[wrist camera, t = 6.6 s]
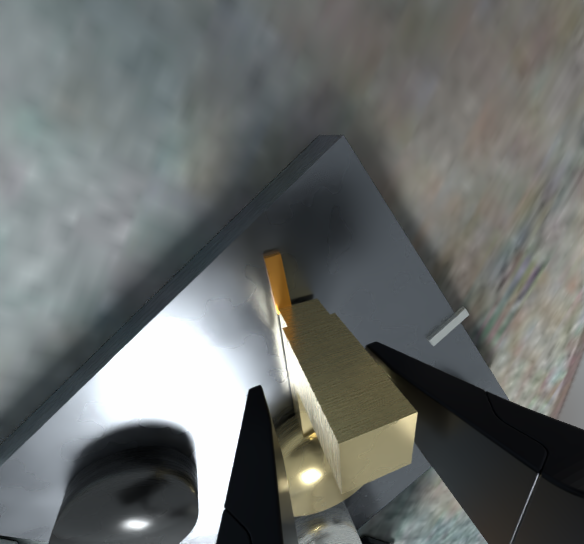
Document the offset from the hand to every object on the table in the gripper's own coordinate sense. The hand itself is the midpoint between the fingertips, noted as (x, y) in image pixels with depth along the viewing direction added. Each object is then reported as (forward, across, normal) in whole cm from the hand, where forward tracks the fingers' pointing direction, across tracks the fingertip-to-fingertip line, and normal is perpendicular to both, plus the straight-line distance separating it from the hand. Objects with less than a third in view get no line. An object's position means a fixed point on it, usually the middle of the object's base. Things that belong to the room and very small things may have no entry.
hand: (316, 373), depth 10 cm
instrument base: (+5, 0, +8) cm, 9 cm away
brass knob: (+3, 0, +5) cm, 6 cm away
